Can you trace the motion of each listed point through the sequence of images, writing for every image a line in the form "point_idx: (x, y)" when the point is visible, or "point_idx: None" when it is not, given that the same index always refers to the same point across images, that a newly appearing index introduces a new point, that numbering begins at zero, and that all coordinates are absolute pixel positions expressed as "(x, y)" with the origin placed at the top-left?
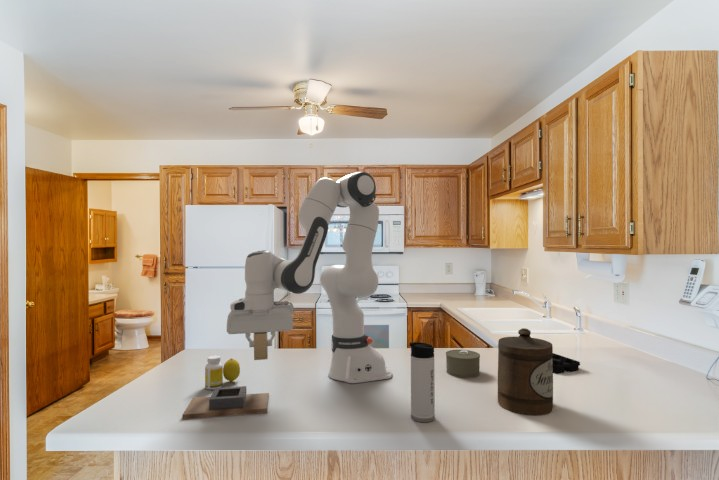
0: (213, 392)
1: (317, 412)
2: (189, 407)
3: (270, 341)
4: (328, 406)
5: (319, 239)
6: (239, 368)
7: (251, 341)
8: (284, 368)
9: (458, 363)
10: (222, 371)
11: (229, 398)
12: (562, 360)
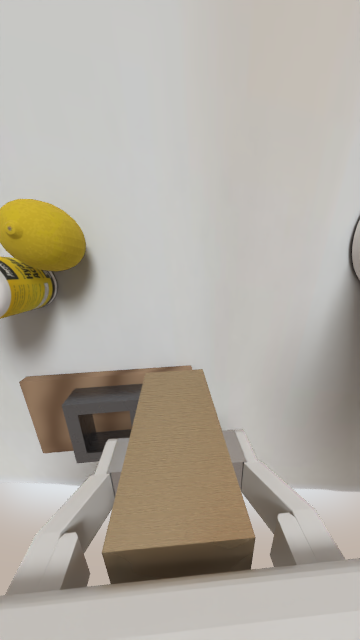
0: (70, 430)
1: (273, 435)
2: (40, 427)
3: (242, 482)
4: (296, 415)
5: None
6: (76, 243)
7: (114, 499)
8: (232, 104)
9: None
10: (24, 287)
11: None
12: None
